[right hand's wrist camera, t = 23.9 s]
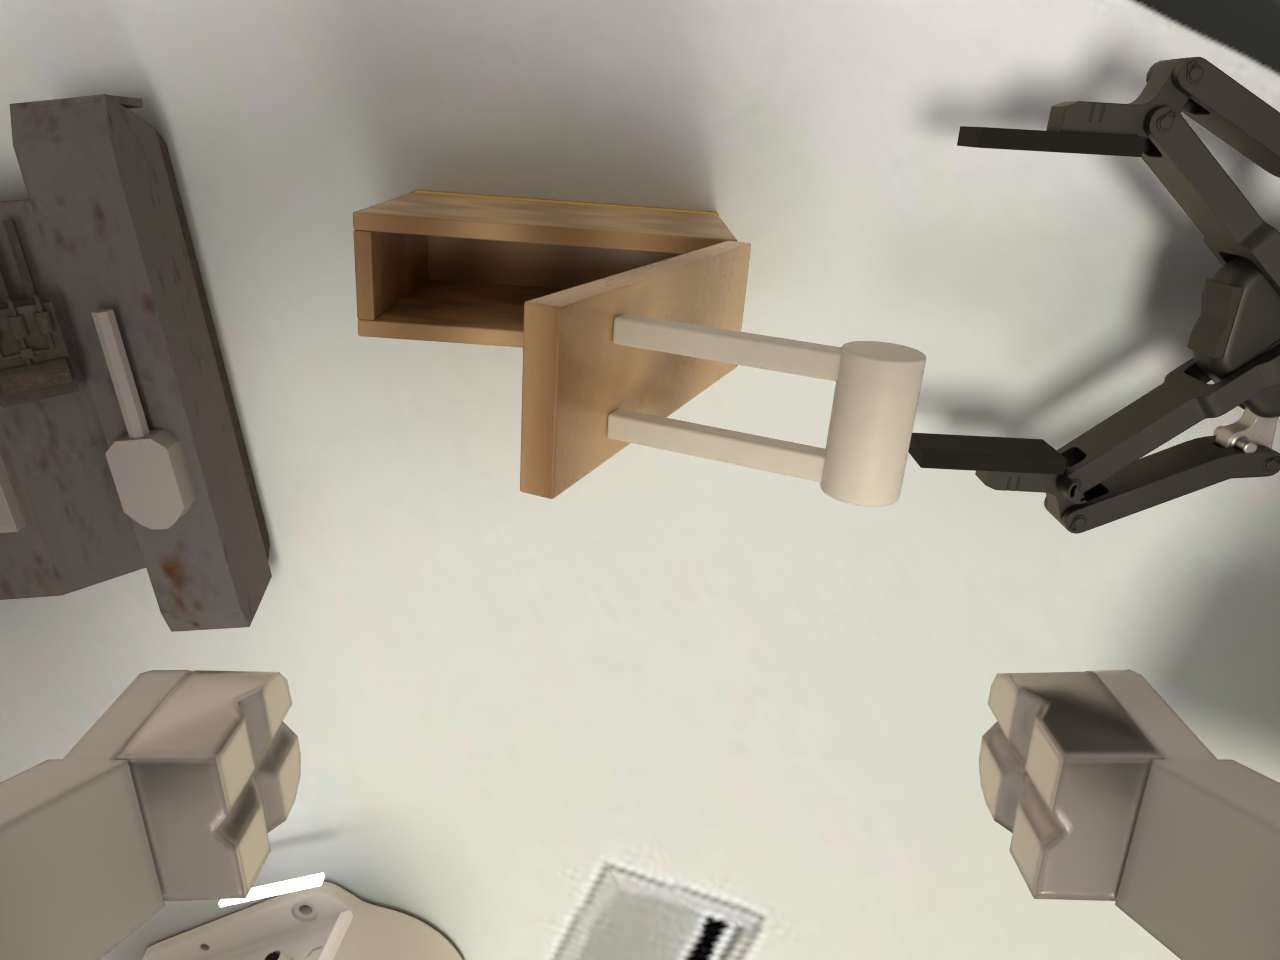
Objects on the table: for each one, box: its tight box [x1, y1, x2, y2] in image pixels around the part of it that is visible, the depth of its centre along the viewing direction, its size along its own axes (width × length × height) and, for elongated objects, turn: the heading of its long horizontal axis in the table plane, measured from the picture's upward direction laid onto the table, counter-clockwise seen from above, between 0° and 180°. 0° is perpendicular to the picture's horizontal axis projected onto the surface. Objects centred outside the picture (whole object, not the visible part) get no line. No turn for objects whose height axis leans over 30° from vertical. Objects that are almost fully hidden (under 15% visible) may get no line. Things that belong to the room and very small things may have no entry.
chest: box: [353, 190, 737, 347], centre depth 40 cm, size 15×5×10 cm, turn 86°
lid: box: [520, 241, 926, 507], centre depth 27 cm, size 15×5×9 cm
